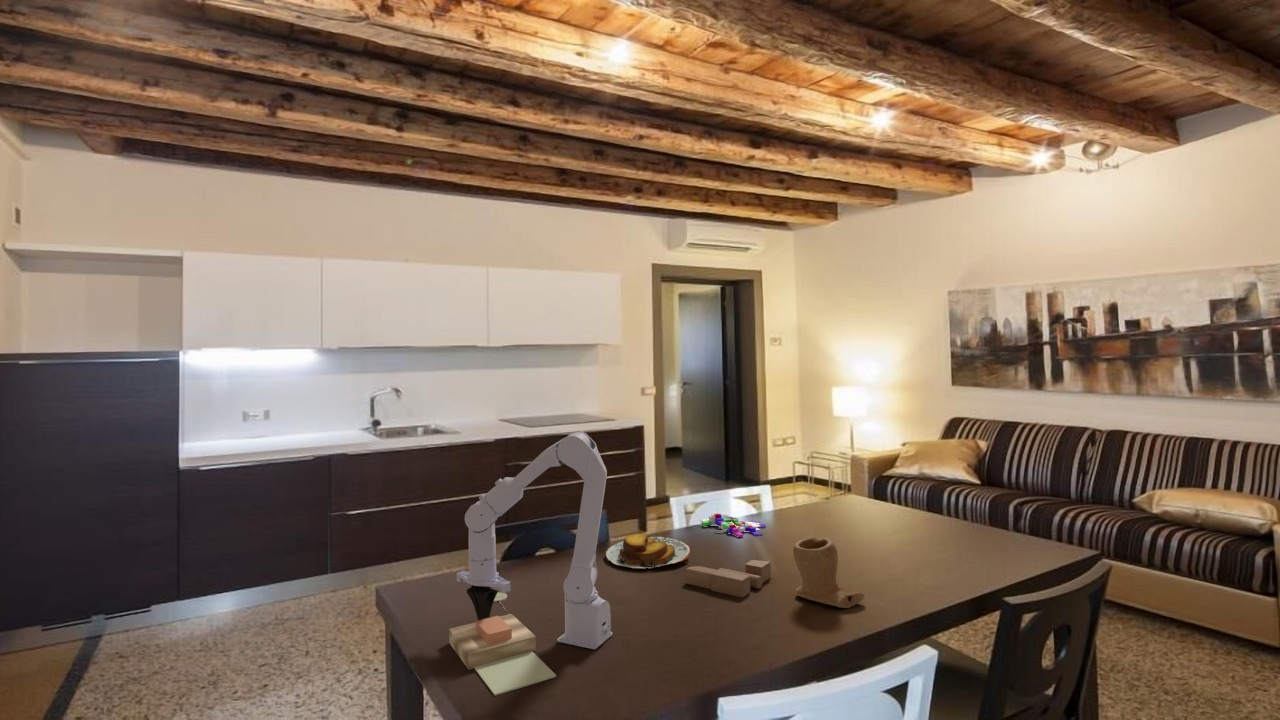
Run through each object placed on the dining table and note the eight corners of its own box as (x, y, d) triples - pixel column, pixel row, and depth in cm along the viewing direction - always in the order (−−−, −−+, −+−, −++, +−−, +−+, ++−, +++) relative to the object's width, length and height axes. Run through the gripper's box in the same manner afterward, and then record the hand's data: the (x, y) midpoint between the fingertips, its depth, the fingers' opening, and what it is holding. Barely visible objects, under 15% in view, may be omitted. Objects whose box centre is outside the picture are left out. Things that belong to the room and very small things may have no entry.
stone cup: (783, 599, 155) (782, 538, 155) (812, 587, 162) (811, 529, 162) (838, 617, 143) (837, 552, 143) (866, 604, 151) (864, 541, 151)
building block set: (780, 534, 213) (779, 521, 213) (726, 541, 206) (726, 528, 206) (742, 517, 236) (741, 505, 236) (693, 523, 229) (692, 511, 229)
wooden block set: (745, 577, 156) (684, 564, 166) (745, 600, 156) (684, 586, 166) (774, 559, 169) (715, 548, 180) (774, 580, 169) (716, 567, 180)
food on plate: (706, 563, 184) (705, 541, 184) (631, 579, 172) (630, 555, 172) (661, 541, 206) (661, 521, 206) (592, 554, 194) (592, 533, 194)
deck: (449, 642, 134) (448, 628, 134) (511, 627, 141) (511, 613, 141) (468, 669, 122) (468, 654, 122) (536, 650, 129) (535, 636, 129)
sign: (498, 616, 147) (483, 594, 160) (498, 620, 147) (483, 598, 160) (520, 612, 149) (504, 591, 162) (520, 616, 149) (504, 594, 162)
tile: (475, 630, 133) (475, 621, 133) (498, 624, 136) (498, 615, 136) (488, 644, 126) (487, 634, 126) (511, 638, 129) (511, 628, 129)
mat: (474, 668, 123) (474, 667, 122) (531, 652, 129) (531, 650, 129) (494, 695, 112) (494, 694, 112) (556, 676, 119) (556, 675, 119)
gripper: (520, 557, 135) (521, 619, 135) (473, 547, 143) (474, 606, 143) (496, 566, 129) (497, 632, 129) (448, 555, 137) (449, 617, 137)
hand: (483, 619), depth 136 cm, fingers closed
